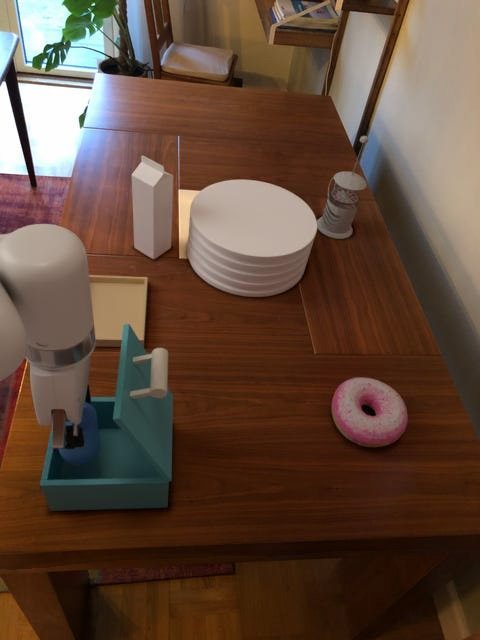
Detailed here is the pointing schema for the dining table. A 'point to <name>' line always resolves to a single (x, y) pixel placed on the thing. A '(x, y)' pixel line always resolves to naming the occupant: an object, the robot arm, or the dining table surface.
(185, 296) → the dining table surface
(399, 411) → the donut
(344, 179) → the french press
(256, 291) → the plate stack
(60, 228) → the robot arm
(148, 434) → the lid
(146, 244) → the milk
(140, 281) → the tray
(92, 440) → the bottle
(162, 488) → the teal wooden box
